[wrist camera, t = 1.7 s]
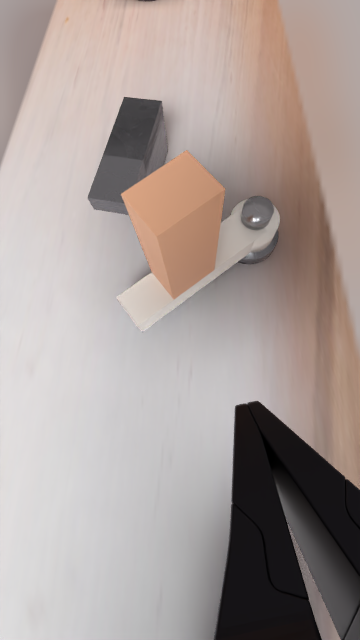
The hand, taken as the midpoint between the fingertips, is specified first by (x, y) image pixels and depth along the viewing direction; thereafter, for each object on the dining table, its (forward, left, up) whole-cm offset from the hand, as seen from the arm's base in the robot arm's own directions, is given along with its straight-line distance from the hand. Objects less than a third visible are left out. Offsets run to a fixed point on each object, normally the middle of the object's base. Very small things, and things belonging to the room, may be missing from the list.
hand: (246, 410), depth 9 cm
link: (+11, +3, -11) cm, 16 cm away
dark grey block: (+19, +10, -13) cm, 25 cm away
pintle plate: (+15, -1, -13) cm, 19 cm away
